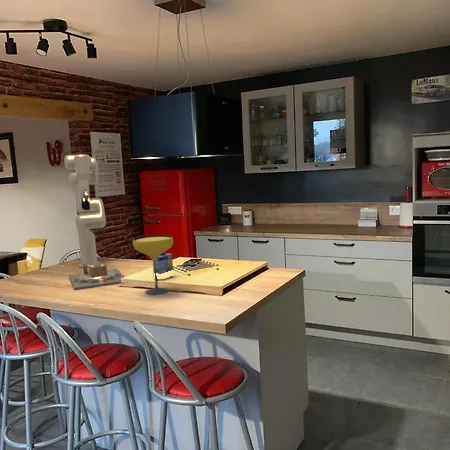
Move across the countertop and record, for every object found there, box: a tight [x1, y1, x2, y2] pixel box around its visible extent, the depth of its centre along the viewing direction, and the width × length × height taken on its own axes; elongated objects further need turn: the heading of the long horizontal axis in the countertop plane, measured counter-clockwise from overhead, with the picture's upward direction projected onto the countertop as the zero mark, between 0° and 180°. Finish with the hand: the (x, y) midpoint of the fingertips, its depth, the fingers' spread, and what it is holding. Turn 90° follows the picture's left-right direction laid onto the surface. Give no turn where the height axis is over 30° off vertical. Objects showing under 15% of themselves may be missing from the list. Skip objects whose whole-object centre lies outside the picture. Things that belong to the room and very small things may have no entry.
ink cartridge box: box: [152, 251, 174, 274], centre depth 241 cm, size 10×6×14 cm, turn 144°
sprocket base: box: [68, 268, 126, 291], centre depth 247 cm, size 32×26×3 cm
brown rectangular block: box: [87, 263, 108, 278], centre depth 242 cm, size 5×8×5 cm, turn 123°
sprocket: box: [73, 264, 121, 283], centre depth 246 cm, size 24×24×6 cm
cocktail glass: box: [132, 234, 174, 296], centre depth 215 cm, size 18×18×25 cm
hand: (85, 209), depth 255 cm, fingers open, 9 cm apart
